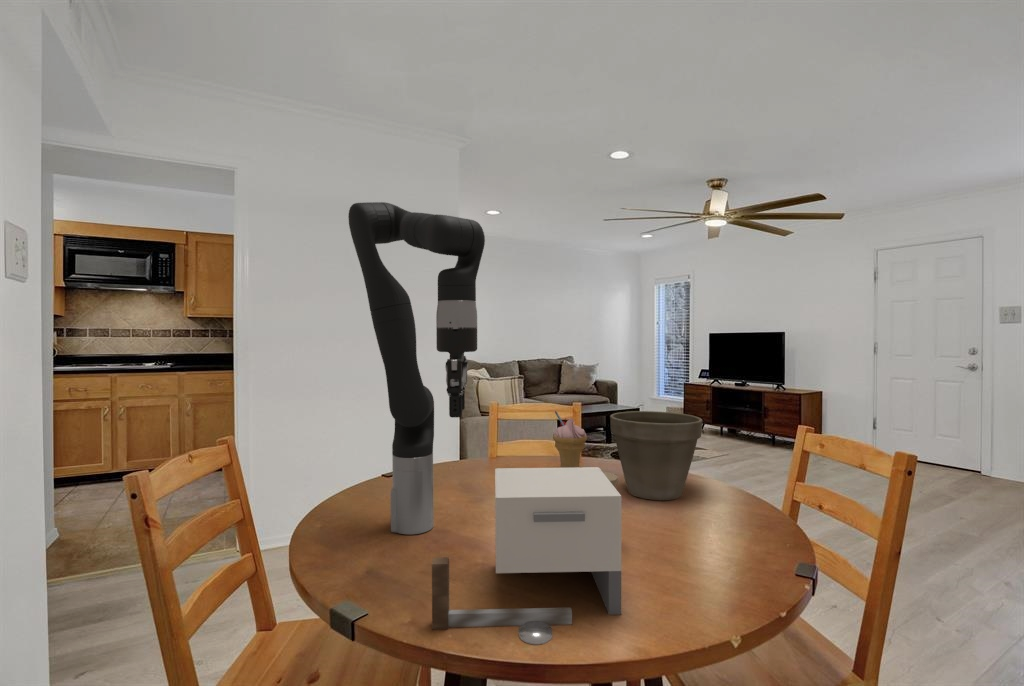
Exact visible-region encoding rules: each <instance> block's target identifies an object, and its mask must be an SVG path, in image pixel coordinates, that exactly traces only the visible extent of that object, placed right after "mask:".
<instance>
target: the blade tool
mask: <svg viewBox="0 0 1024 686" xmlns="http://www.w3.org/2000/svg"><path fill="white" fill-rule="evenodd" d="M432 558H433V560H432V561H431V562H432V563H431V602H432V603H431V624H432V625H431V626H432V627H431V628H432V630H435V631H436V630H439V631H440V630H448V629H449V628H464V627H469V628H471V627H473V628H474V627H509V626H510V627H513V626H514V627H515V626H519V627H520V626H521V625H522V624H524V623H526V622H530V621H540V622H544V623H546V624H548V625H549V626H552V625H553V626H555V625H557V626H560V625H561V626H562V625H565V626H566V625H572V624H573V611H572V608H571V607H570V606H569V607H535V608H534V607H532V608H524V607H523V608H521V607H520V608H490V609H489V608H487V609H486V608H485V609H484V608H483V609H480V608H479V609H478V608H476V609H475V608H474V609H450V556H441V557H439V556H438V557H432Z"/></svg>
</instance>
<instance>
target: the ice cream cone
mask: <svg viewBox="0 0 1024 686" xmlns="http://www.w3.org/2000/svg"><path fill="white" fill-rule="evenodd" d="M554 414H555V416H556V417H557V419H558V420H559V422H560V424H559V425H560V426H558V427H557V428H556V430H555V431H554V433H553V435H552V440H553V441H554V447H555V448H556V450H557V451H558V454H559V459H560V461H559V462H560V468H574V467H580V462H581V461H580V460H581V453H582V452H583V450H584V449H585V448H586V443H585V442H586V441H587V440H588V435H587V433H586V431H585V430H584V428H581V427H580V426H579V425H576V424H574V422H575V420H574V419H573V418H569V419H568V420H567V421H566V419H564V421H563V419H562V418H561V417H560V415H559V413H558V412H557V411H556V410H555V411H554Z"/></svg>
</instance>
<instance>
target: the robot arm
mask: <svg viewBox="0 0 1024 686" xmlns="http://www.w3.org/2000/svg"><path fill="white" fill-rule="evenodd" d="M347 219H348V226H349V231H350V235H351V239H352V243H353V246H354V249H355V252H356V255H357V259H358V262H359V266H360V270H361V273H362V275H363V276H362V277H363V281H364V286H365V290H366V294H367V300H368V306H369V311H370V316H371V321H372V324H373V325H372V326H373V329H374V334H375V337H376V340H377V344H378V345H377V346H378V348H379V352H380V356H381V359H382V363H383V367H384V371H385V372H384V373H385V377H386V378H385V379H386V386H387V393H388V394H387V395H388V405H389V407H388V408H389V411H390V414H391V416H392V418H393V419H394V433H393V434H394V435H393V440H392V444H391V446H392V447H391V450H392V451H391V452H392V453H391V455H392V488H391V489H390V533H396V534H400V535H401V534H402V535H419V534H424V533H426V532H429V531H431V530H432V529H433V528H434V440H435V439H434V438H435V399H434V396H433V393H432V392H431V390H430V389H429V388H428V387H427V386H425V385H424V382H423V379H422V376H421V372H420V369H419V364H418V358H417V332H416V331H417V328H416V323H415V321H416V320H415V316H414V310H413V306H412V302H411V299H410V296H409V294H408V292H407V291H406V290H405V288H404V287H403V286H402V284H401V283H400V282H399V281H398V280H397V279H396V278H395V277H394V276H393V275H392V274H391V272H390V271H389V270H388V268H386V265H385V264H384V263H383V261H382V259H381V257H380V254H379V252H378V251H379V250H378V248H377V245H381V244H391V243H394V242H399V241H404V242H405V243H406V244H407V245H410V246H411V247H413V248H417V249H422V250H426V251H428V252H431V253H434V254H439V255H445V256H452V257H457V261H456V263H455V266H454V267H452V268H451V267H449V268H446V269H442V270H441V271H440V272H439V273H438V276H437V307H436V317H435V318H436V319H435V320H436V326H435V327H436V351H438V352H439V353H448V354H449V358H447V360H446V362H445V367H444V368H445V372H446V373H445V374H446V376H445V382H446V386H447V387H446V393H447V396H448V400H449V401H448V403H449V404H448V405H449V406H448V412H449V413H448V415H449V417H450V418H461V417H462V416H463V410H465V406H466V405H465V400H466V399H465V397H466V396H465V394H466V393H465V390H466V388H467V382H468V371H469V361H467V356H466V355H465V353H472V352H473V353H474V352H476V351H477V350H478V310H477V302H476V301H477V299H476V298H477V296H476V295H477V292H476V291H477V286H476V285H477V284H476V283H477V282H476V281H477V276H478V272H479V269H480V268H479V267H480V265H481V260H482V256H483V254H484V248H485V243H486V239H485V232H484V230H483V229H484V228H483V227H482V226H481V224H480V223H479V222H478V221H476V220H475V219H470V218H465V217H464V218H463V217H458V216H453V215H447V214H434V213H433V214H432V213H428V212H427V213H425V212H411V211H409V210H405V209H404V208H401V207H400V206H397V205H395V204H393V203H389V202H385V201H384V202H383V201H381V202H380V201H379V202H378V201H377V202H376V201H375V202H369V201H368V202H355V203H353V204H352V205H351V206H350V207H349V210H348V218H347Z"/></svg>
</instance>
